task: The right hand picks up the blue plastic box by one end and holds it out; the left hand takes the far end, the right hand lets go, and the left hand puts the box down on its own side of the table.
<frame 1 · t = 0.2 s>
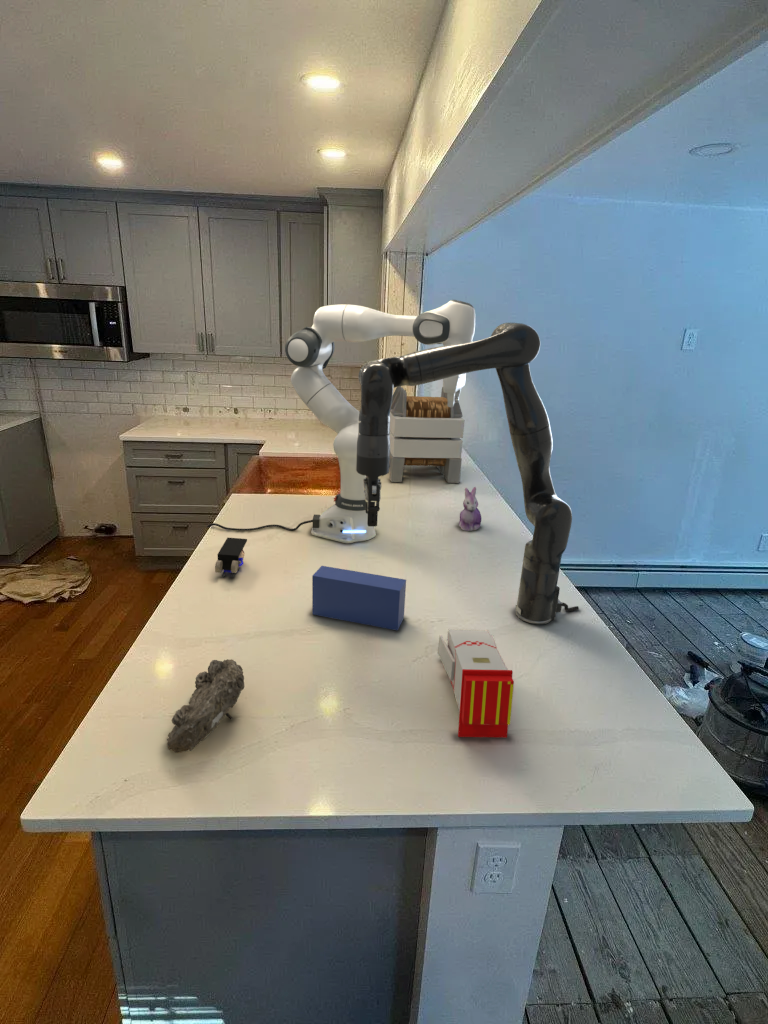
left hand: (453, 404, 174), 48 cm above the counter, tool pointing down, fingers open, 8 cm apart
right hand: (371, 519, 134), 28 cm above the counter, tool pointing down, fingers open, 8 cm apart
box: (358, 616, 146), on the counter
figurine: (469, 527, 209), on the counter
toy: (469, 691, 119), on the counter
grey slatted crate: (419, 473, 275), on the counter
fossil: (212, 717, 108), on the counter
figurine character: (232, 569, 168), on the counter
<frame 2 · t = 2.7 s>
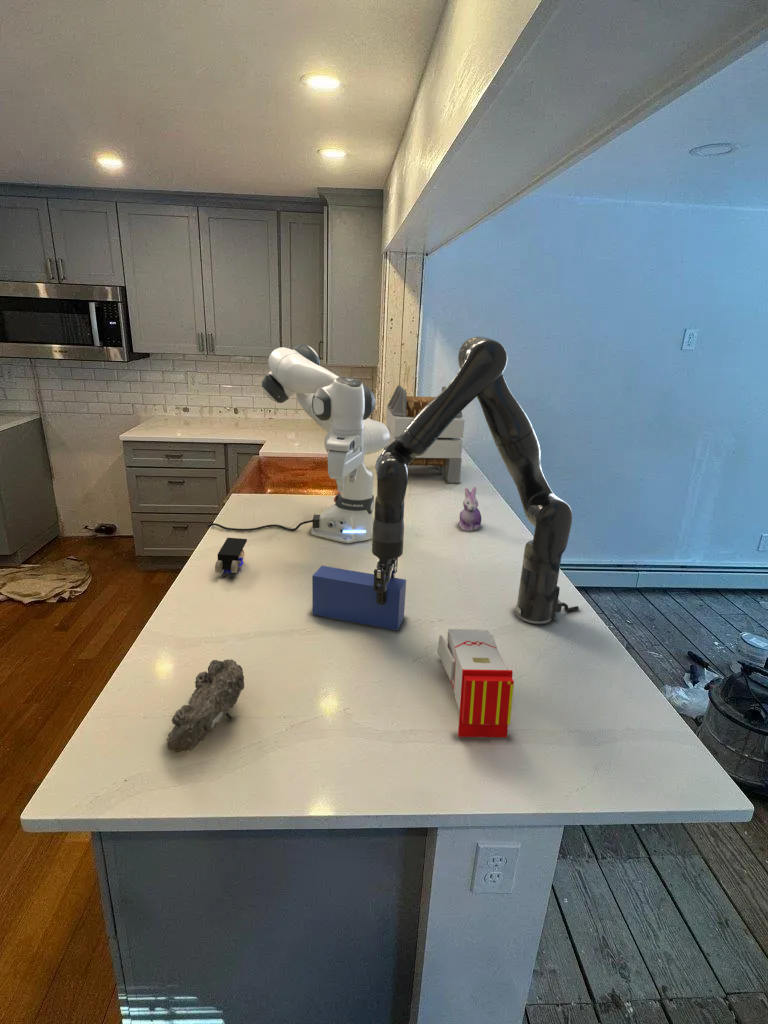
left hand: (346, 486, 160), 27 cm above the counter, tool pointing down, fingers open, 8 cm apart
right hand: (385, 597, 142), 7 cm above the counter, tool pointing down, fingers closed on box, 6 cm apart
box: (358, 616, 146), on the counter, touching right hand
everything else where it was.
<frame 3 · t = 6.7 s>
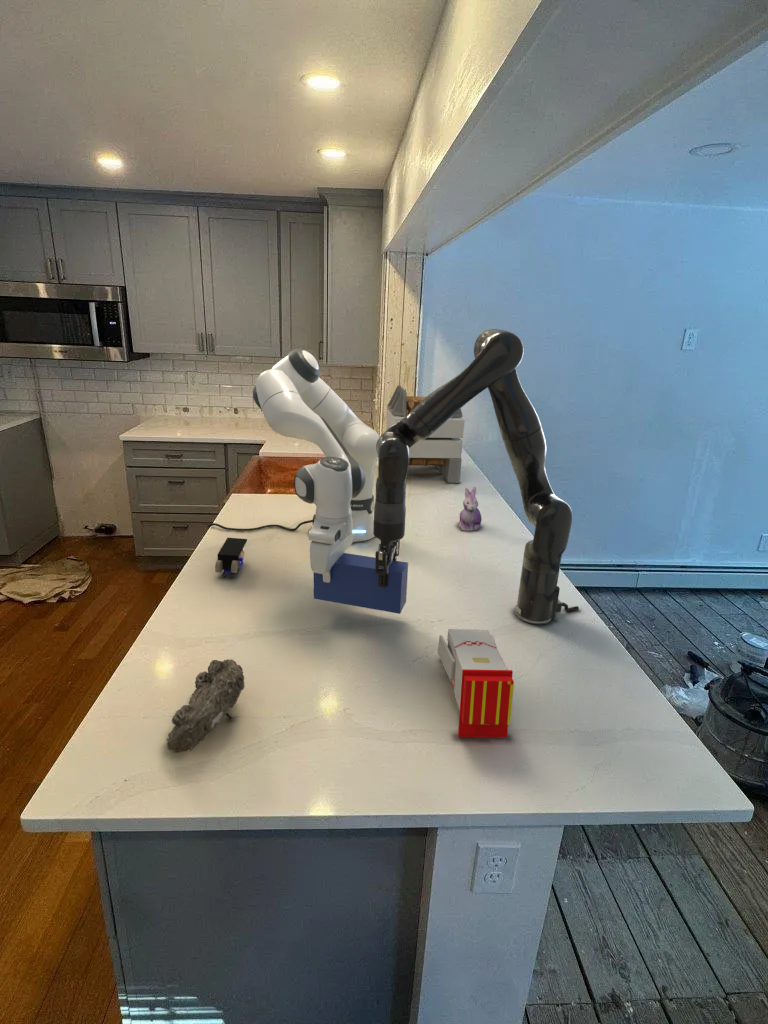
left hand: (332, 574, 144), 11 cm above the counter, tool pointing down, fingers closed on box, 6 cm apart
right hand: (386, 580, 140), 12 cm above the counter, tool pointing down, fingers closed on box, 6 cm apart
box: (359, 600, 144), point 5 cm above the counter, touching left hand, right hand
everything else where it was.
when the left hand's fingers open (8 cm above the counter, at t = 11.5 s): box drops 1 cm, on the counter.
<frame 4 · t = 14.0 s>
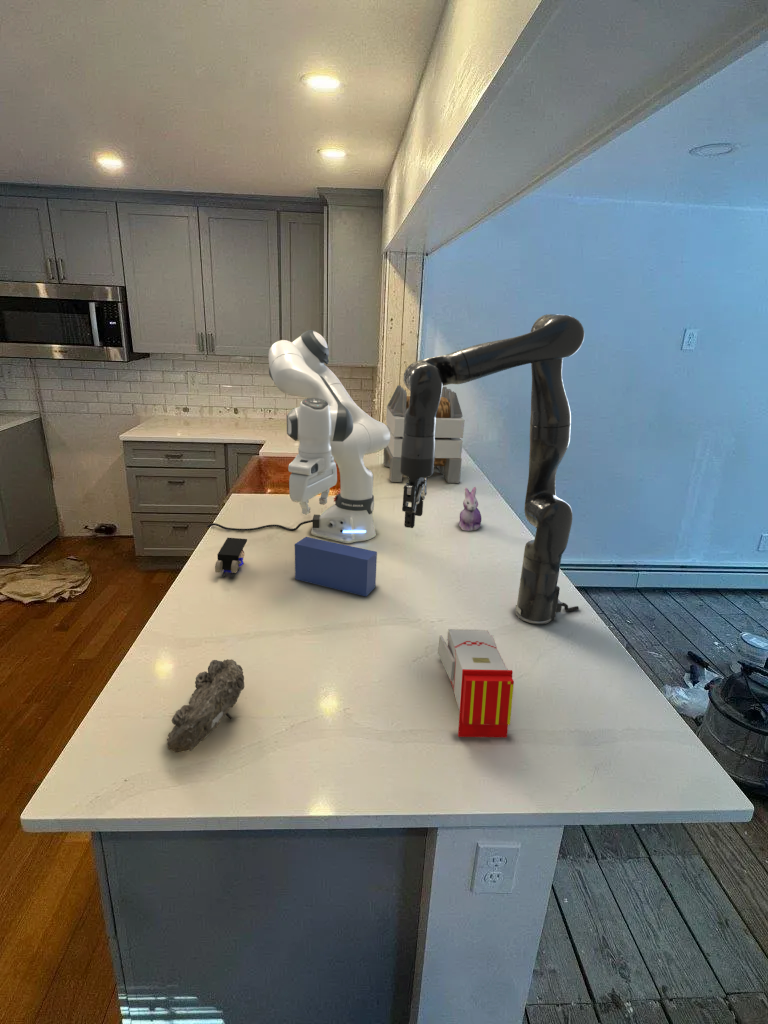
left hand: (314, 508, 157), 22 cm above the counter, tool pointing down, fingers open, 8 cm apart
right hand: (413, 521, 133), 28 cm above the counter, tool pointing down, fingers open, 8 cm apart
box: (334, 583, 162), on the counter
everything else where it was.
at the end: box inside the target area (6.5 cm from its centre), on the counter; the left hand is holding nothing; the right hand is holding nothing; box at rest at the end (0.0 cm/s) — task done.
